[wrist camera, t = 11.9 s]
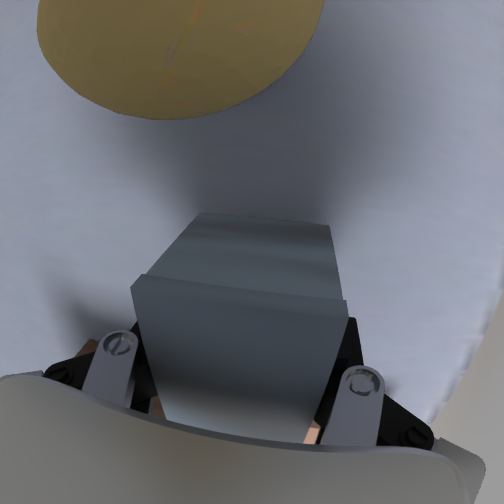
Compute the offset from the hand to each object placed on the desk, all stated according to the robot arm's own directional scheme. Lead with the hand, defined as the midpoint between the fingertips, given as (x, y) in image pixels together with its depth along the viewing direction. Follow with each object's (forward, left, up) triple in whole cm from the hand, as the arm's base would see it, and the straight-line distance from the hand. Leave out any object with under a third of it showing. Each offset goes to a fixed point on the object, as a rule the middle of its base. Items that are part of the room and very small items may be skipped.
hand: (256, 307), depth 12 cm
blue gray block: (0, 0, 0) cm, 0 cm away
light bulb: (-10, -2, -4) cm, 11 cm away
